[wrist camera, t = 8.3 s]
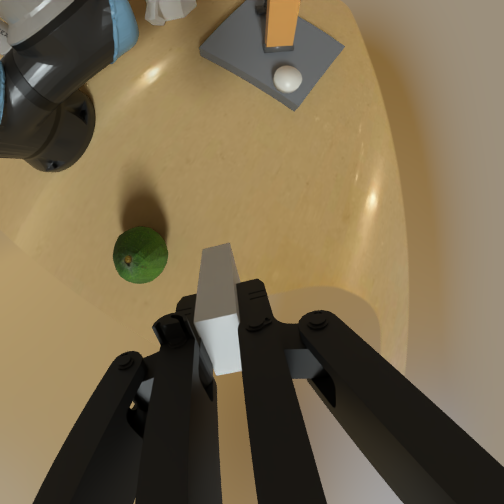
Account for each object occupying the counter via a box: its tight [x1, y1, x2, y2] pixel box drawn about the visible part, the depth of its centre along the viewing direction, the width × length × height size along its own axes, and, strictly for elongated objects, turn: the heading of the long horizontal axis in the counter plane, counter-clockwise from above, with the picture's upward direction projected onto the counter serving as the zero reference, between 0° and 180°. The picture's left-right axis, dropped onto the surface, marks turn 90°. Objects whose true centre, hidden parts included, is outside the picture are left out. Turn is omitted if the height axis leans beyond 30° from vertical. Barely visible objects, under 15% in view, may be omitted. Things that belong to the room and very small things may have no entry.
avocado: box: [113, 227, 168, 284], centre depth 38 cm, size 8×8×12 cm
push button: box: [273, 66, 302, 94], centre depth 36 cm, size 4×4×2 cm
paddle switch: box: [263, 0, 301, 53], centre depth 30 cm, size 4×2×12 cm, turn 101°
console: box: [199, 0, 345, 112], centre depth 37 cm, size 18×15×3 cm
